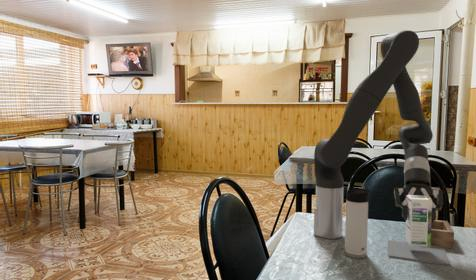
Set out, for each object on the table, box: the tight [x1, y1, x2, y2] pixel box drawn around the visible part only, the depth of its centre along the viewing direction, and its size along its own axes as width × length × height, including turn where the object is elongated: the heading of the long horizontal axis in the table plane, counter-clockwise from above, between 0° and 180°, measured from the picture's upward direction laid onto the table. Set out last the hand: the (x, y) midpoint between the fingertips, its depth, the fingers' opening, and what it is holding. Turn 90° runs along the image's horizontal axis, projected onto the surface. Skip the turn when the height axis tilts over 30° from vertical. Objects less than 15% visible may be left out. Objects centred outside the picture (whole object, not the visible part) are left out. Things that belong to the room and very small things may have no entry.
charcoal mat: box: [387, 239, 452, 267], centre depth 108 cm, size 16×13×1 cm
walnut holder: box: [431, 219, 455, 249], centre depth 119 cm, size 12×12×5 cm
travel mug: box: [344, 188, 371, 259], centre depth 106 cm, size 6×7×20 cm
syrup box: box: [405, 195, 433, 247], centre depth 107 cm, size 6×6×14 cm
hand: (419, 219), depth 106 cm, fingers closed on syrup box, 6 cm apart
